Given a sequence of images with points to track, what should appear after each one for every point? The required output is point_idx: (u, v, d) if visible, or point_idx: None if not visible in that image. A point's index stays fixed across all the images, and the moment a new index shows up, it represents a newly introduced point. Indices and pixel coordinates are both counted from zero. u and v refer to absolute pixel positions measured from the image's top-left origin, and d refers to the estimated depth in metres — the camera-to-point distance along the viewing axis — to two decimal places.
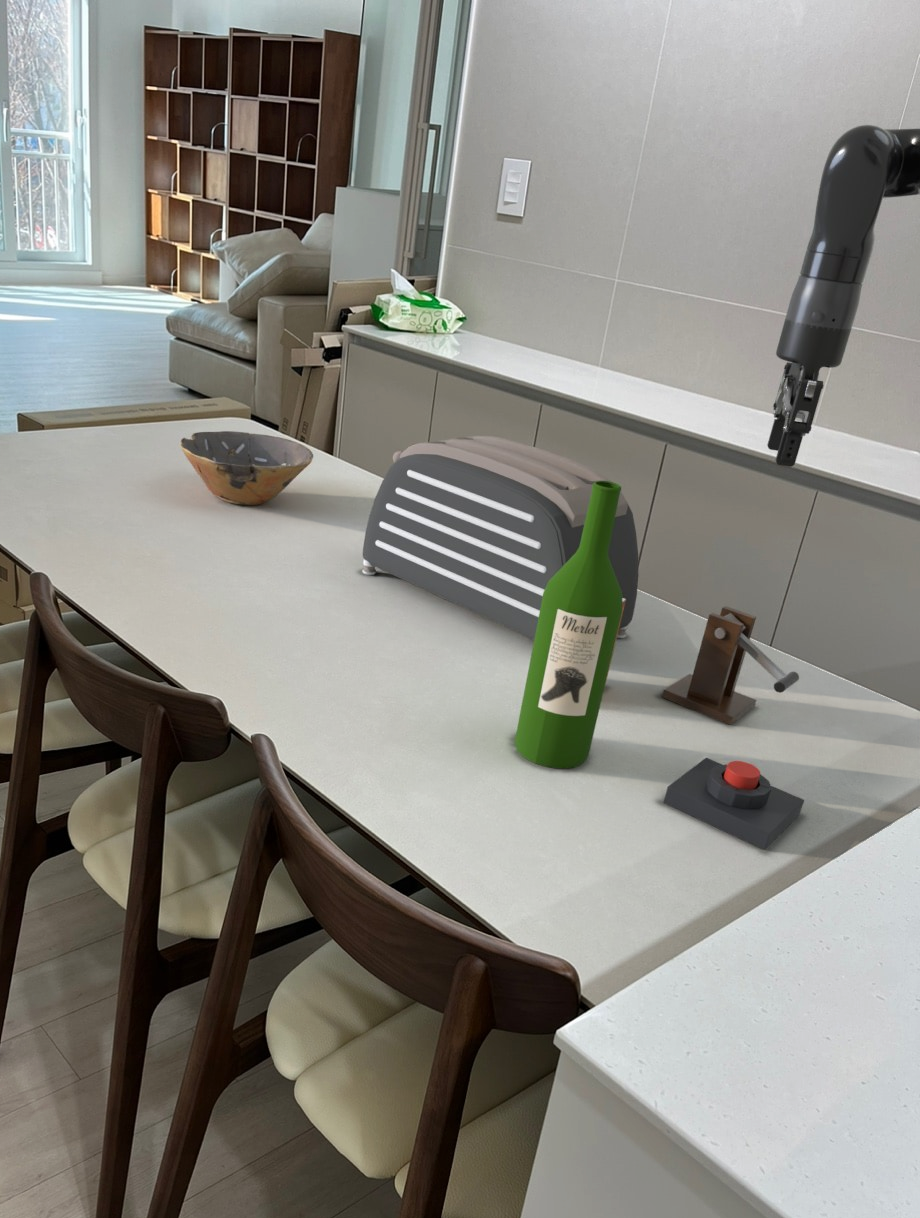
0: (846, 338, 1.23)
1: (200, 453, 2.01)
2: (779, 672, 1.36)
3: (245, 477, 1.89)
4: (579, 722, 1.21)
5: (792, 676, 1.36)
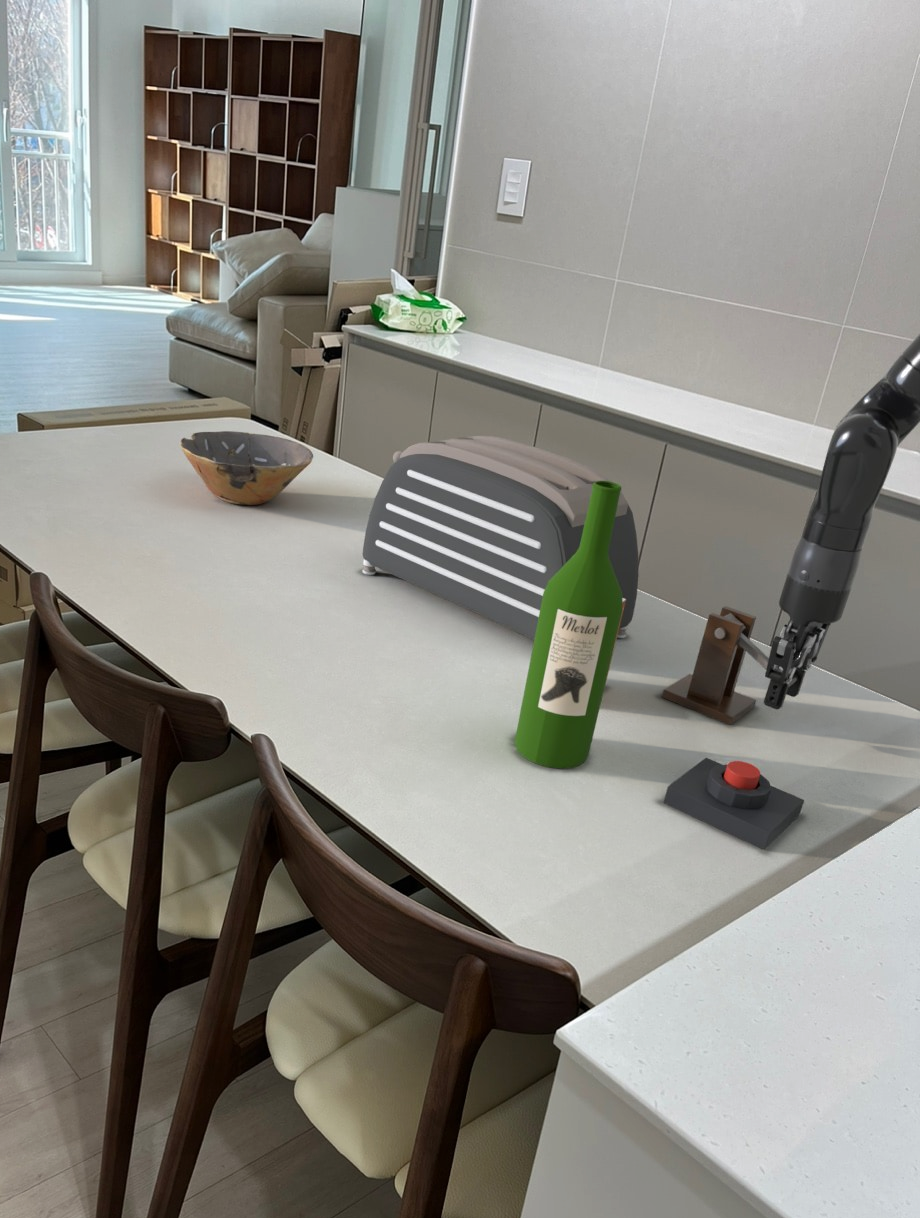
0: (837, 599, 1.27)
1: (200, 453, 2.01)
2: None
3: (245, 477, 1.89)
4: (579, 722, 1.21)
5: None
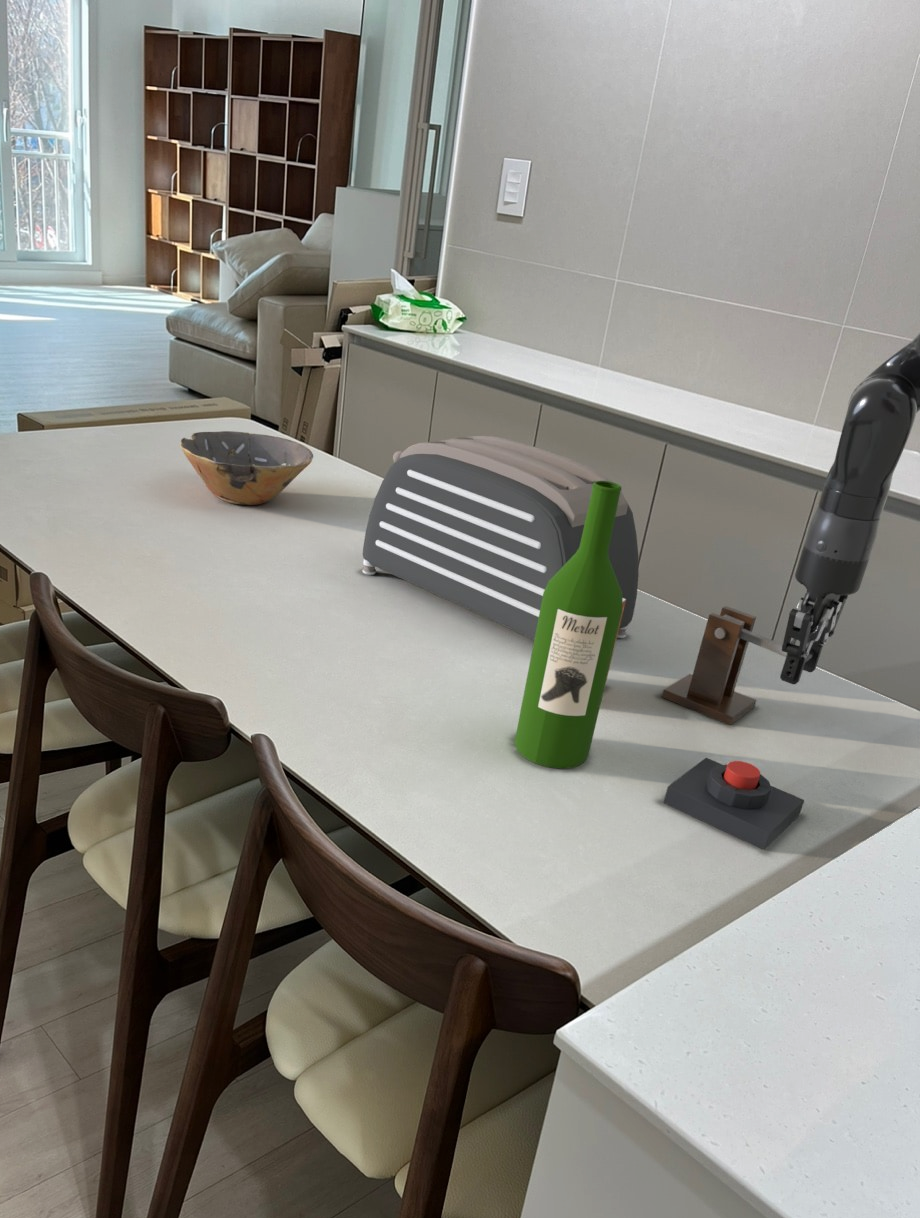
0: (855, 570, 1.24)
1: (200, 453, 2.01)
2: None
3: (245, 477, 1.89)
4: (579, 722, 1.21)
5: None
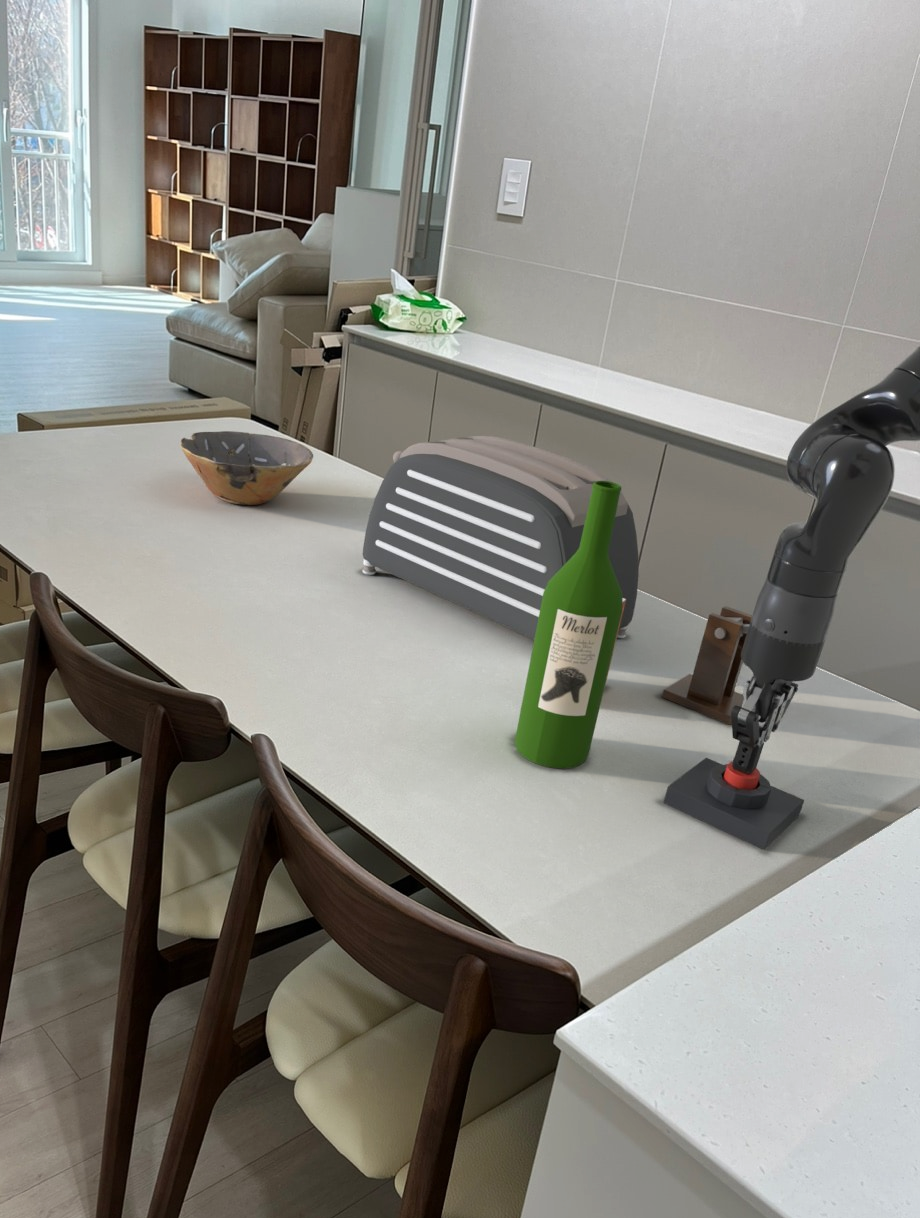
0: (808, 653, 1.06)
1: (200, 453, 2.01)
2: None
3: (245, 477, 1.89)
4: (579, 722, 1.21)
5: None
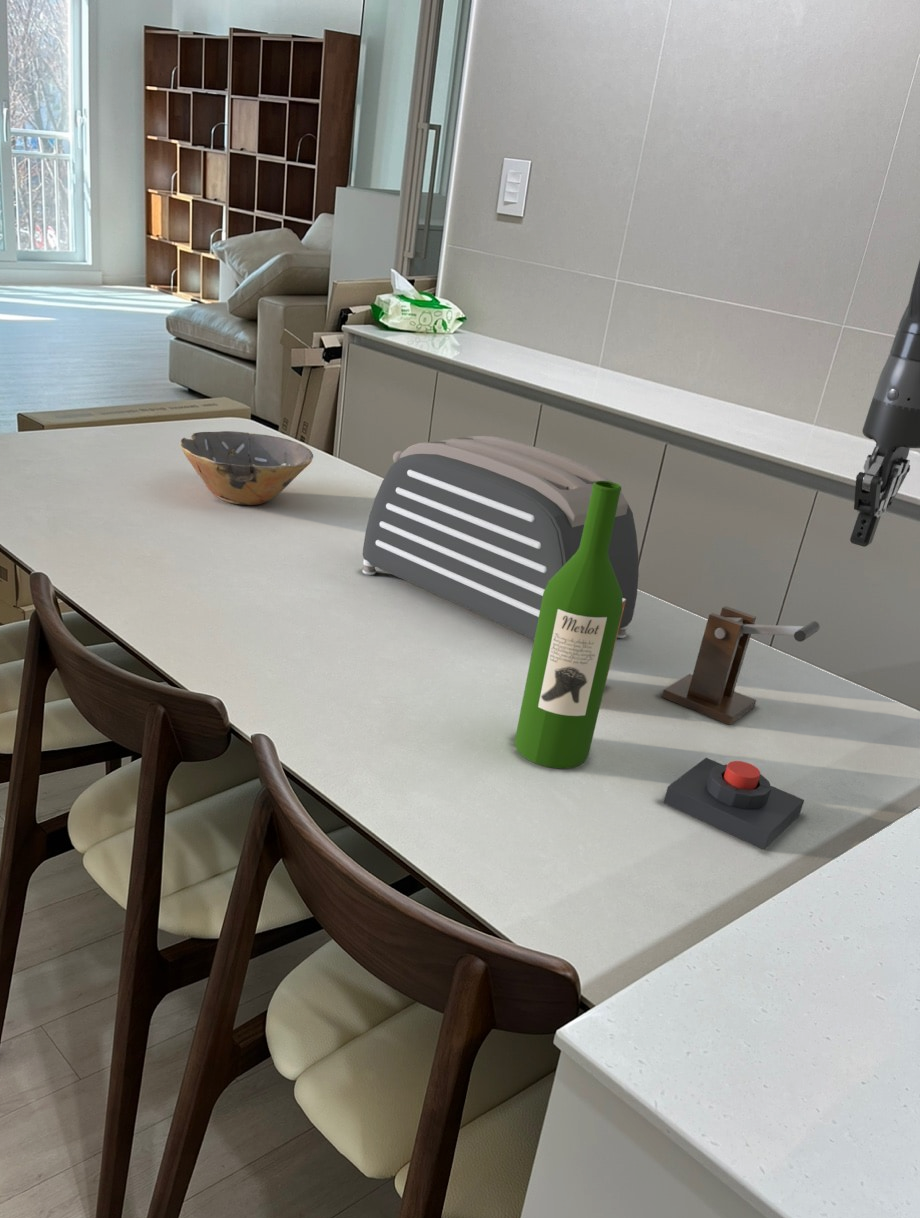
0: None
1: (200, 453, 2.01)
2: (794, 627, 1.33)
3: (245, 477, 1.89)
4: (579, 722, 1.21)
5: (808, 624, 1.32)
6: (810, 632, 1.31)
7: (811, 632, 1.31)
